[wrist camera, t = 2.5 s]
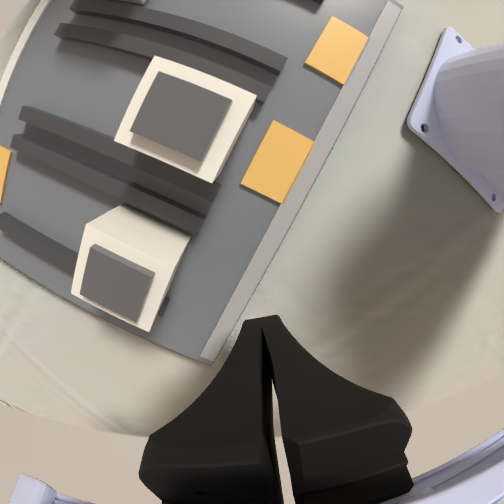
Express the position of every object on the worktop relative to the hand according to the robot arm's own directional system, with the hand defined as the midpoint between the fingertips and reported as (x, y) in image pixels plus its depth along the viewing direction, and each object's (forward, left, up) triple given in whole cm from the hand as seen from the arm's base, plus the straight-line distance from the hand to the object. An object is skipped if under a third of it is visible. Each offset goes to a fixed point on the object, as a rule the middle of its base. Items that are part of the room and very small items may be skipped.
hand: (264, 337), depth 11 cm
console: (+9, -6, -4) cm, 12 cm away
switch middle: (+6, -6, -3) cm, 9 cm away
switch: (+6, 0, -3) cm, 7 cm away
